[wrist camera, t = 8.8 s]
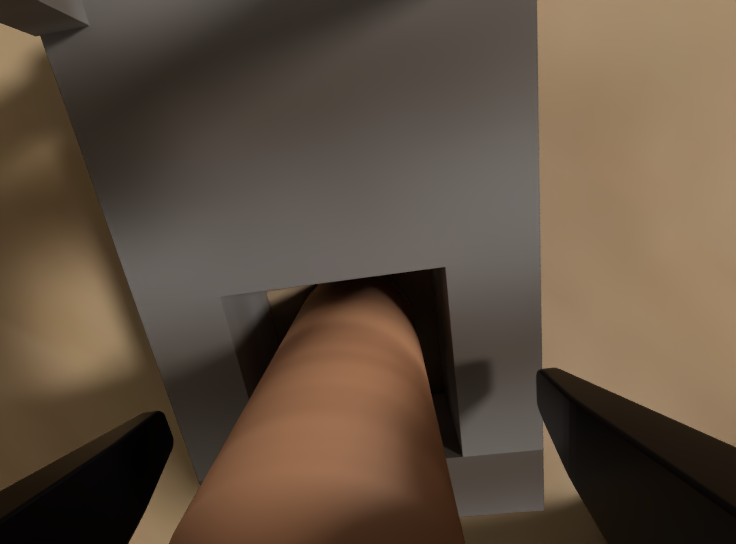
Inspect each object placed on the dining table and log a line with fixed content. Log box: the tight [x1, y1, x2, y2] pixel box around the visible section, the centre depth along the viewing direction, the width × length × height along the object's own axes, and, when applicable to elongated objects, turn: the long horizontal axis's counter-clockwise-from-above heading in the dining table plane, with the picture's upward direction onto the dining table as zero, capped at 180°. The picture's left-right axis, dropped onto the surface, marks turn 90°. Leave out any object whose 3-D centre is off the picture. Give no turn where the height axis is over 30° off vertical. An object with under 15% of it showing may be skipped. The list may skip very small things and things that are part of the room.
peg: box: [169, 276, 465, 544], centre depth 8 cm, size 4×4×8 cm
